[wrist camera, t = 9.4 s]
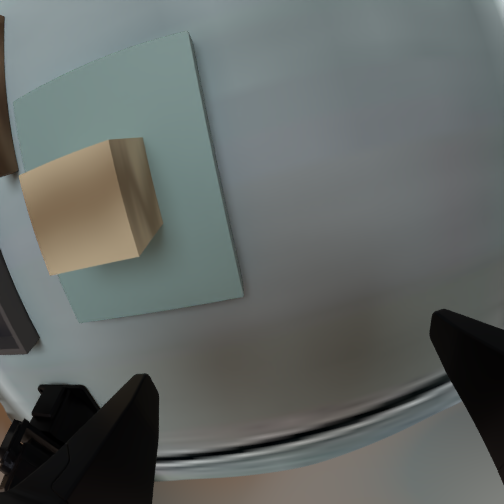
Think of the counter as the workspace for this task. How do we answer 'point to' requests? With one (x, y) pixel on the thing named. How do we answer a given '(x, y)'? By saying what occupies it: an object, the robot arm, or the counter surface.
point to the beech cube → (93, 205)
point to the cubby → (5, 119)
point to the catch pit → (13, 318)
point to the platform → (162, 171)
